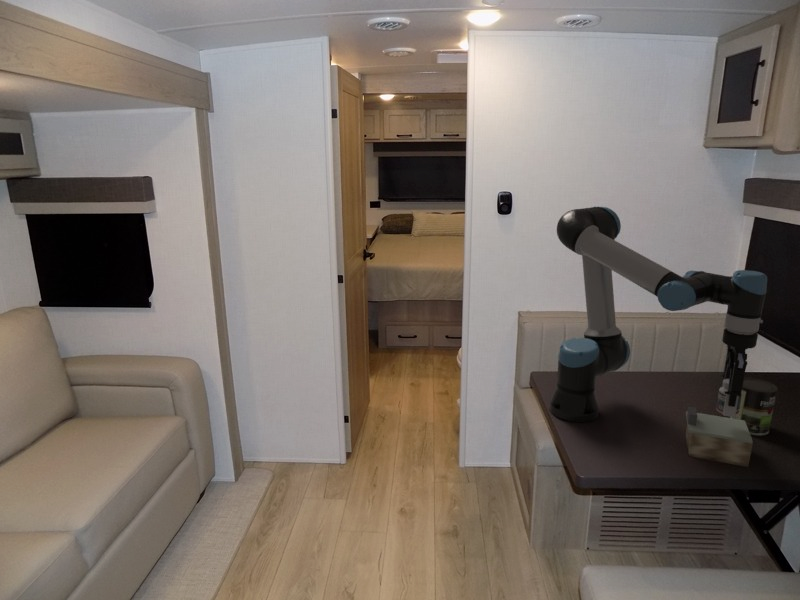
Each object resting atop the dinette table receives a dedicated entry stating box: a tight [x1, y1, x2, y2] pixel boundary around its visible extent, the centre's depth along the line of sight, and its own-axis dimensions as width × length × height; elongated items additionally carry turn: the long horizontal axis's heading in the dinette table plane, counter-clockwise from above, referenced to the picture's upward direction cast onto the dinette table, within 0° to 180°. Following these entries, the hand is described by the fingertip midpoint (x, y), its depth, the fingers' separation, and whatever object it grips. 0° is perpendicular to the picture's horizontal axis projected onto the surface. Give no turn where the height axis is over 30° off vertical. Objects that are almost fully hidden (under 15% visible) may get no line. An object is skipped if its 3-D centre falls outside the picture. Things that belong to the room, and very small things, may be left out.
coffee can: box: [729, 377, 779, 437], centre depth 157 cm, size 10×10×14 cm
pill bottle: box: [715, 378, 742, 416], centre depth 141 cm, size 5×5×9 cm
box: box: [685, 423, 754, 468], centre depth 145 cm, size 14×11×7 cm
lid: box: [685, 406, 753, 444], centre depth 144 cm, size 15×12×4 cm
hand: (727, 410), depth 142 cm, fingers closed on pill bottle, 5 cm apart
